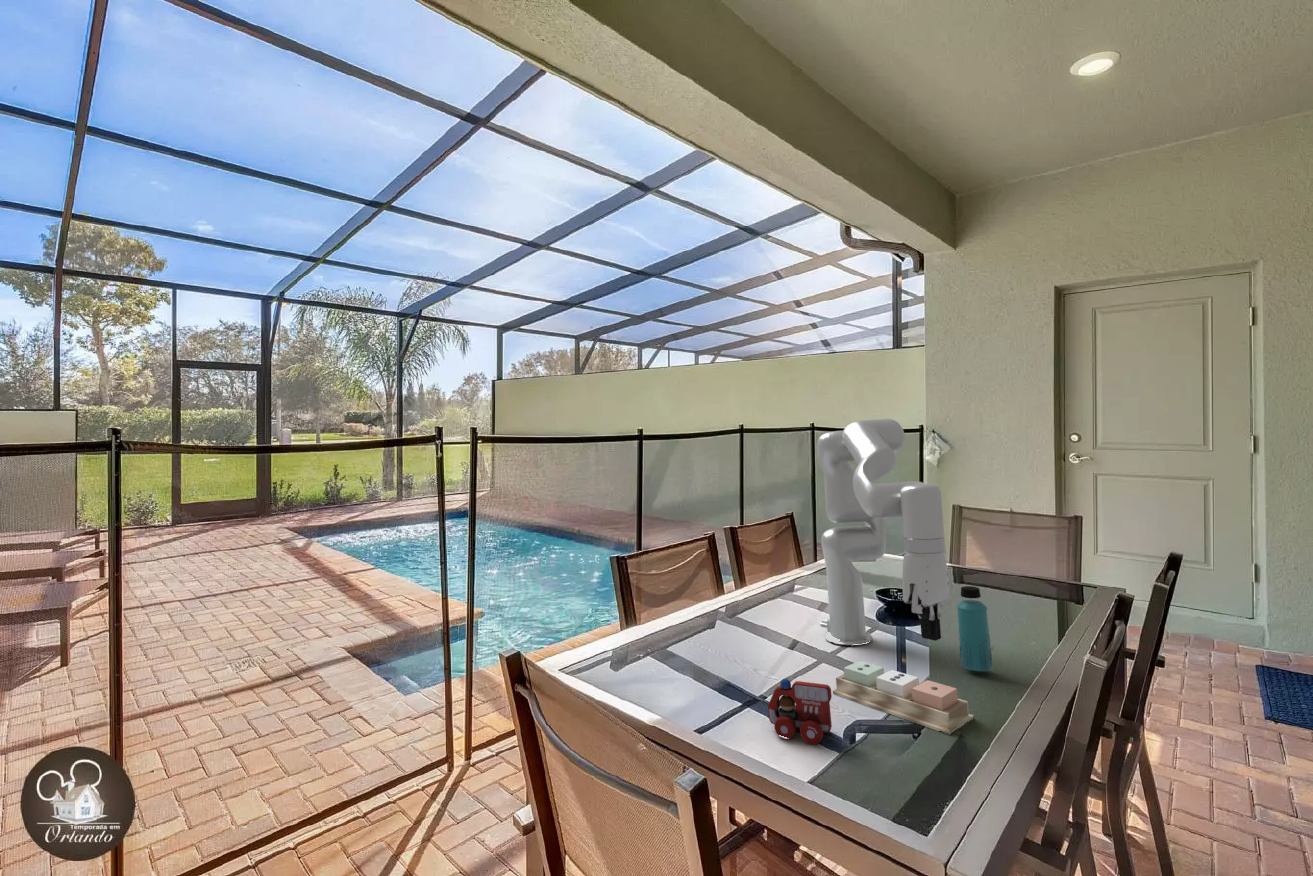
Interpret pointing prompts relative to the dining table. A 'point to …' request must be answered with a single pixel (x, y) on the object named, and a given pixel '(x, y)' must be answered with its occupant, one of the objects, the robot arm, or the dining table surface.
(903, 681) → the three dot tile
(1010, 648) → the dining table surface
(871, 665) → the two dot tile
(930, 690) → the one dot tile
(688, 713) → the dining table surface
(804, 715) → the toy fire truck
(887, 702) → the tile board
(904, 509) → the robot arm
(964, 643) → the beverage bottle
